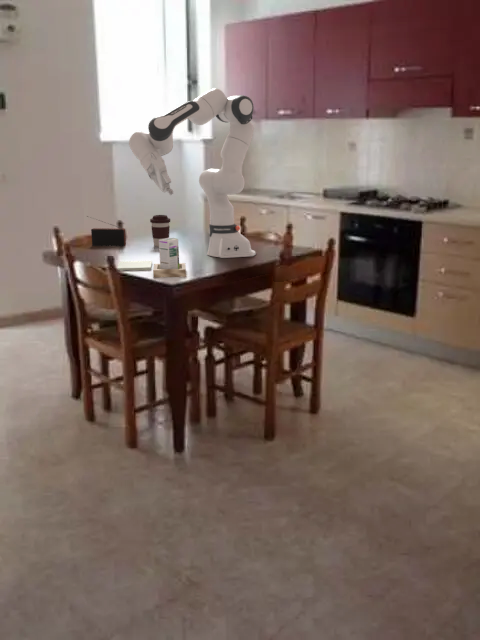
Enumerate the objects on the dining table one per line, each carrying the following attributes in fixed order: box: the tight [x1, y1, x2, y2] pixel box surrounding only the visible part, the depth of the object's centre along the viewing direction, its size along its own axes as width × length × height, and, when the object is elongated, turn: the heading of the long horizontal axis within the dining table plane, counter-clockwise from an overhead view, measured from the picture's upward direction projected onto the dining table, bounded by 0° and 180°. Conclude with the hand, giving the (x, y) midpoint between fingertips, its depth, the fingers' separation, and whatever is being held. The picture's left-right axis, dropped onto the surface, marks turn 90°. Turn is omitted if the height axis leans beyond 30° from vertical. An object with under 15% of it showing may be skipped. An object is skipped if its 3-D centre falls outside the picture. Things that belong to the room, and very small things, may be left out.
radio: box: [86, 215, 127, 247], centre depth 363 cm, size 19×3×15 cm, turn 84°
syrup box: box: [158, 237, 180, 269], centre depth 297 cm, size 6×6×14 cm
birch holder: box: [152, 262, 187, 278], centre depth 299 cm, size 13×13×3 cm
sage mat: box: [116, 260, 153, 272], centre depth 312 cm, size 14×14×1 cm
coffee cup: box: [149, 214, 171, 248], centre depth 361 cm, size 10×10×15 cm
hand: (170, 188), depth 303 cm, fingers open, 8 cm apart
